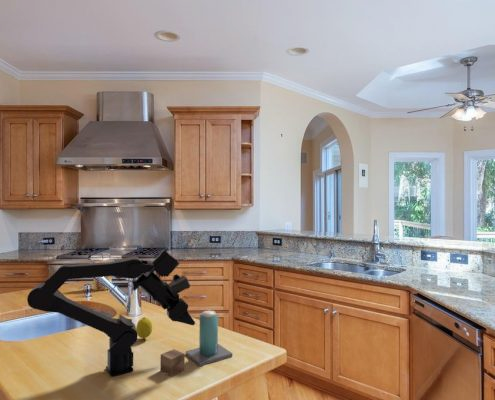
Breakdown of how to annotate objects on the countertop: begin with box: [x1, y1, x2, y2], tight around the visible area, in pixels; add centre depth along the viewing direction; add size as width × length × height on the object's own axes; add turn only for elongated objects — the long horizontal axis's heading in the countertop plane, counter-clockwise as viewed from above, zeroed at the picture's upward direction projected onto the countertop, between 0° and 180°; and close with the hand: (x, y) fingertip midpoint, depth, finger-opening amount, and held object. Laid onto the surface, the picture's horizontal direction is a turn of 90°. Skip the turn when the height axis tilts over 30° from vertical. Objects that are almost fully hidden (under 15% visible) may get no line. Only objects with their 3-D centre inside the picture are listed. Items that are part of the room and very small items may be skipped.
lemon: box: [136, 316, 153, 340], centre depth 130 cm, size 6×6×8 cm
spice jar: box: [198, 310, 219, 356], centre depth 117 cm, size 6×6×13 cm
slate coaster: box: [184, 343, 233, 366], centre depth 117 cm, size 12×10×1 cm
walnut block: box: [160, 348, 186, 377], centre depth 107 cm, size 5×5×5 cm
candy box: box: [93, 261, 113, 291], centre depth 202 cm, size 9×4×15 cm, turn 93°
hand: (190, 319), depth 115 cm, fingers open, 9 cm apart
